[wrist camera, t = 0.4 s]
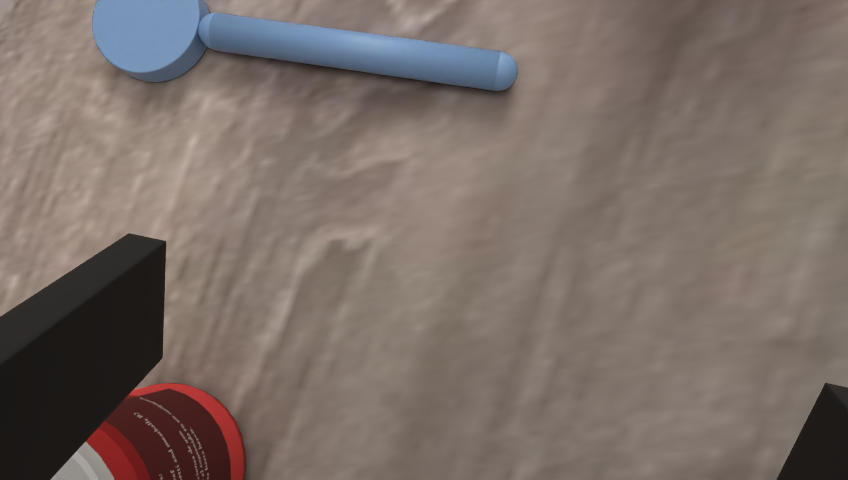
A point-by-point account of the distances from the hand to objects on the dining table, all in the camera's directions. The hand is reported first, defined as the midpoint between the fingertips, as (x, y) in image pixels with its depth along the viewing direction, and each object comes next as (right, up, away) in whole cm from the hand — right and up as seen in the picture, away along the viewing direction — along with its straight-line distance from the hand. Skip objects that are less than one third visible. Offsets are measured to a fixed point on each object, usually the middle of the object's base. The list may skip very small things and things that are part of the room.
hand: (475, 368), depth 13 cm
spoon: (-7, +12, +19) cm, 24 cm away
